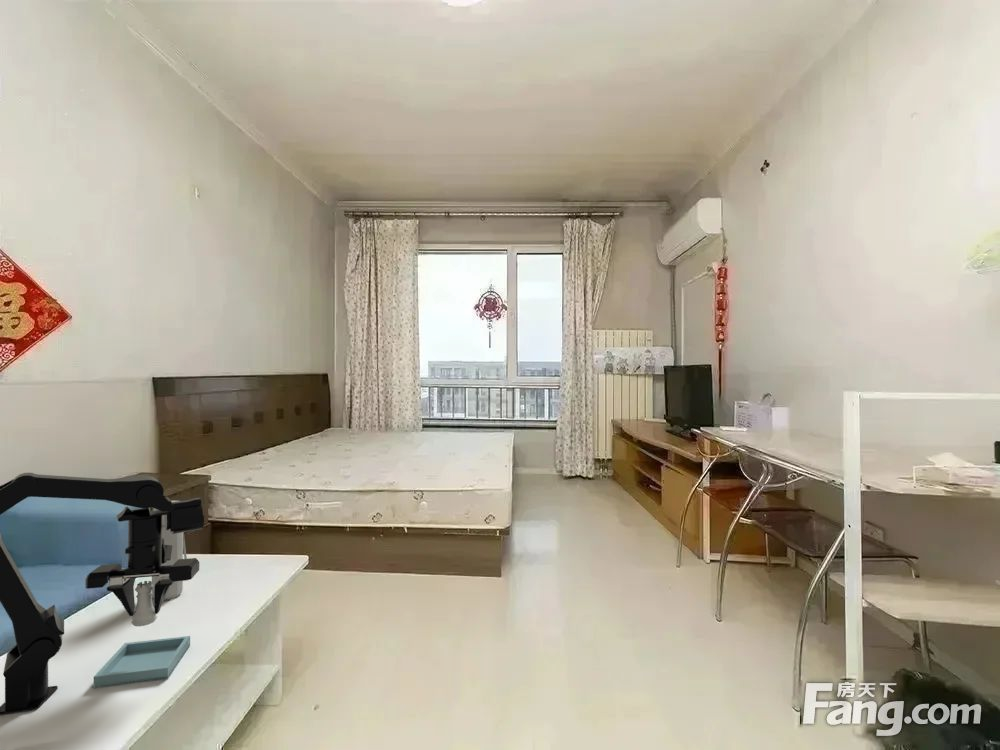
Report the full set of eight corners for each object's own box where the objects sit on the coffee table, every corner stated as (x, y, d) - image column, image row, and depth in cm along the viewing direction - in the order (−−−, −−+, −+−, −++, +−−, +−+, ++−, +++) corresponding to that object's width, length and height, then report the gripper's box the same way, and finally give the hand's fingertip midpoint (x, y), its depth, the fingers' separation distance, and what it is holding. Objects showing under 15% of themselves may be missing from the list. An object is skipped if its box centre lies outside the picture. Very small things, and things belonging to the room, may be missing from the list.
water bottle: (165, 603, 134) (165, 508, 133) (143, 599, 136) (143, 505, 136) (196, 589, 142) (196, 499, 142) (175, 585, 145) (175, 497, 145)
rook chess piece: (127, 628, 102) (127, 588, 102) (136, 618, 107) (136, 580, 107) (152, 625, 104) (152, 586, 104) (160, 615, 108) (160, 577, 108)
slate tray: (167, 678, 101) (167, 667, 101) (93, 688, 98) (93, 676, 98) (190, 645, 113) (190, 635, 113) (124, 653, 110) (124, 643, 110)
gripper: (207, 524, 115) (207, 593, 115) (112, 530, 111) (111, 601, 111) (190, 539, 104) (190, 616, 104) (84, 546, 100) (83, 626, 100)
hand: (144, 614), depth 105 cm, fingers closed on rook chess piece, 4 cm apart
